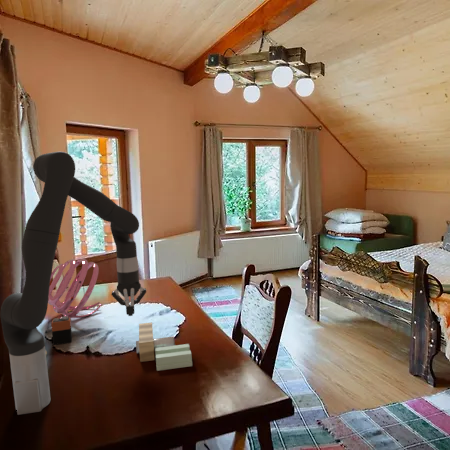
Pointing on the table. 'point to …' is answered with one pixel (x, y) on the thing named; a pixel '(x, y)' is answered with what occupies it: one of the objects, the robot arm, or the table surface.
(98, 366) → the table surface
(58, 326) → the battery
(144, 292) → the robot arm
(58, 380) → the table surface
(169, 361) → the v block
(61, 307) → the spiral basket
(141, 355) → the beam
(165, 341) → the pale grey long bar
